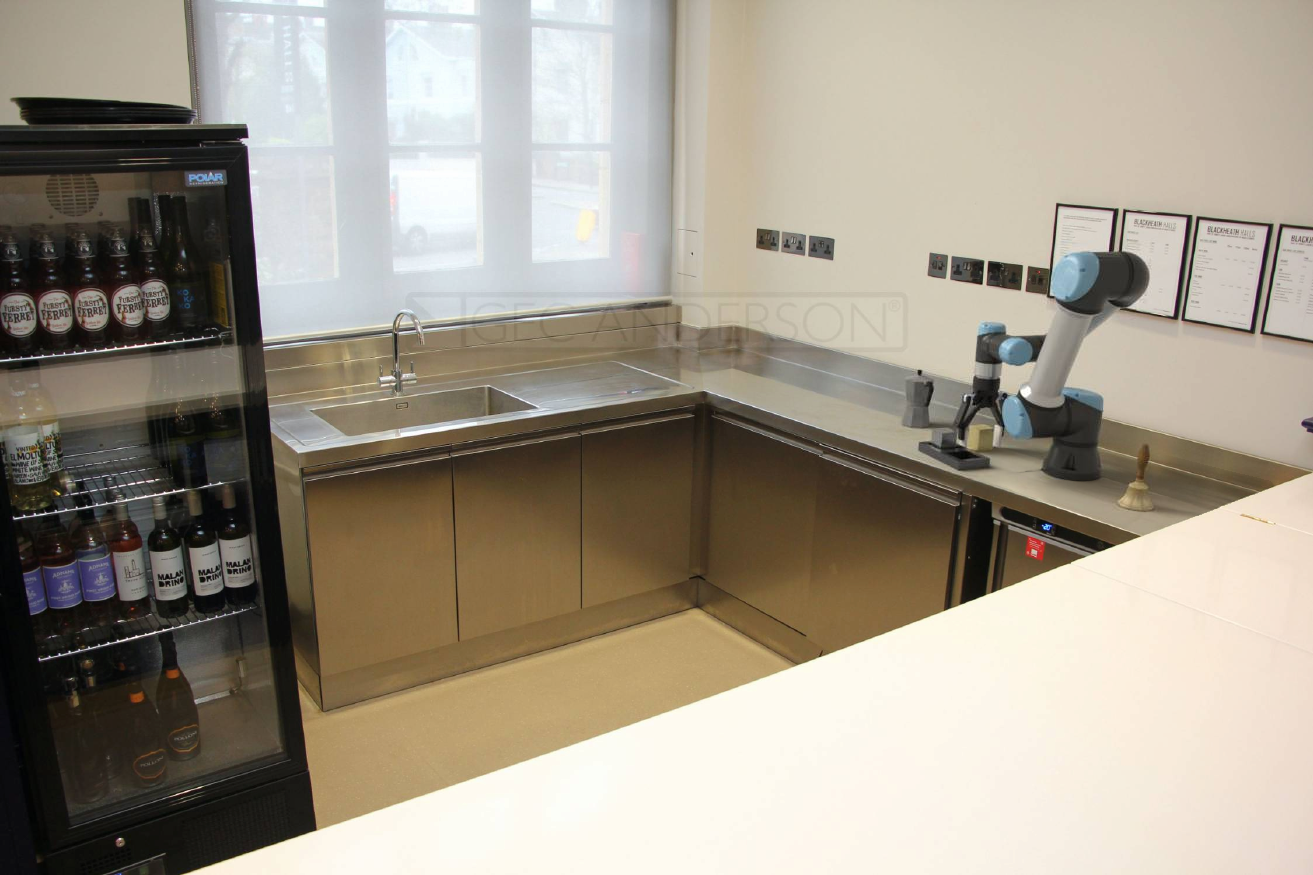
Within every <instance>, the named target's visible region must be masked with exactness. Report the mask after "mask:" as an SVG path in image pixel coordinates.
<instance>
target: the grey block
mask: <svg viewBox="0 0 1313 875" xmlns="http://www.w3.org/2000/svg"><path fill="white" fill-rule="evenodd" d="M957 440H958V431H956V430H955V429H951V428H950V427H936V428H935V427H934V428H932V429H931V440H930V441H931V446H933V447H935V448H937V449H939V450H942V449H953V448H956V443H957Z"/></svg>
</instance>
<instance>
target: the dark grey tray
mask: <svg viewBox="0 0 1313 875" xmlns="http://www.w3.org/2000/svg"><path fill="white" fill-rule="evenodd" d="M917 446H918V448H917V451H918V452H920V453H922V454H924V455H926V456H929V457H930V458H933V459H934V460H936V461H938V462H940V463H942V464H944V465H946V466H948V467H950V468H952V469H954V470H956V471H966V470H968V471H969V470H977V469H987V468H988V469H989V468H990V463H991V458H989V457H988V456H985V455H983V454H981V453H979V452H978V451H976V450H973V449H971V448H969V447H967V448H966V447H964V446H962V445H959V443H957V442H956V448H953V449H942V450H939V449H937V448H935V447H933V446H931V440H927V441H918V445H917Z"/></svg>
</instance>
